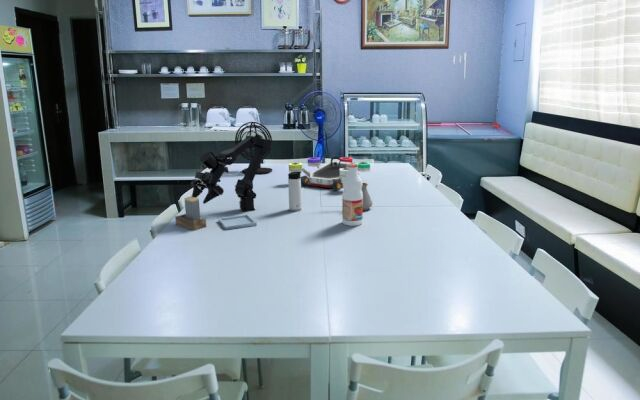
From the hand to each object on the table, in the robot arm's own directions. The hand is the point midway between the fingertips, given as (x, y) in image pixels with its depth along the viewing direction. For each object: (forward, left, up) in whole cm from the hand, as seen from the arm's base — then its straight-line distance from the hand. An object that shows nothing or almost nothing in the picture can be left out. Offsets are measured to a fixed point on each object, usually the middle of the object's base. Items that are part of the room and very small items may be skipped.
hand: (197, 201), depth 241 cm
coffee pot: (-76, +9, -11) cm, 77 cm away
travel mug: (-49, -1, -11) cm, 50 cm away
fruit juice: (-65, +32, -11) cm, 73 cm away
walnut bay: (+4, +2, -11) cm, 12 cm away
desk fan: (-59, -102, -11) cm, 118 cm away
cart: (-93, -47, -11) cm, 105 cm away
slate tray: (-16, +8, -11) cm, 21 cm away
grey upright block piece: (+3, +1, -11) cm, 11 cm away
